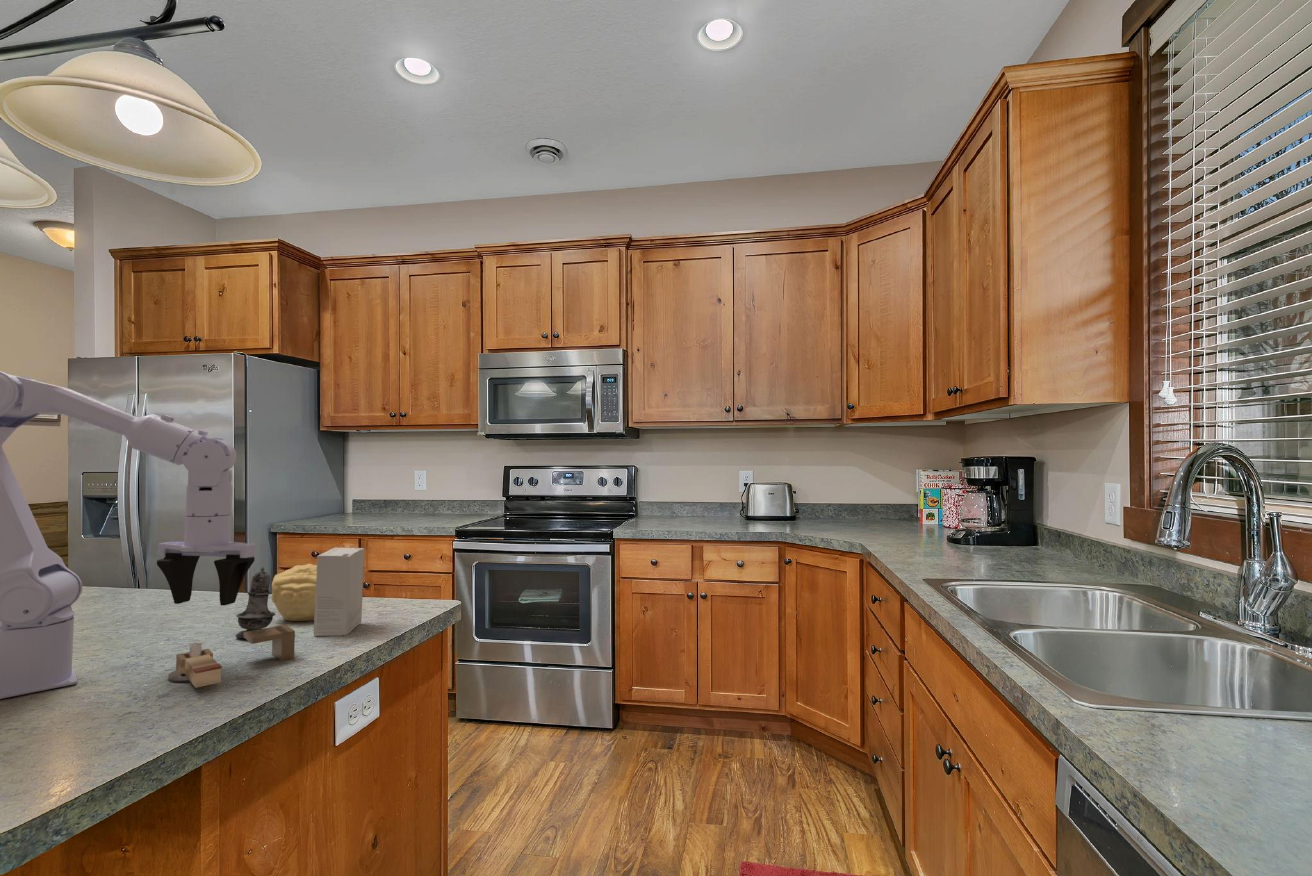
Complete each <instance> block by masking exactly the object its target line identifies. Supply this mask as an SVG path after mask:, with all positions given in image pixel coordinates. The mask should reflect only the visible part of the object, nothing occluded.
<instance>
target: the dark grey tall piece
mask: <svg viewBox="0 0 1312 876" xmlns="http://www.w3.org/2000/svg"><path fill="white" fill-rule="evenodd" d="M250 583H251V584H250V590H249V591H248V592H247V595H248V601H247V605H246V608H245V610H244V611H242V612H241V613H237V614H236V618H237V623H238V626H239V627H240V628H241V629H244V630H241V631H239V632H238V633H236V634H235V637H236V638H240V639H245V638H244V632H247V631H253V630H258V629H264V628H268V626H269V625H270V624H271V623H272V621H273V619H274V616H276V612H273V611H271V610H270V609H269V607H268V600H269V595H271V594H272V591H269V590H270V583H271V575H270V574H269V573H268V572H266V571H265V567H264V566H262V567H261V568H260V571H259V572H255V573H254V574H253V575H252V577H251V582H250Z"/></svg>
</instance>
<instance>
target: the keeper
mask: <svg viewBox="0 0 1312 876" xmlns="http://www.w3.org/2000/svg"><path fill="white" fill-rule="evenodd" d="M295 637H296V631H295V630H294V629H293V628H291V627H290V626H288V625H287V624H283V625H277V626H271V627H265V628H262V629H258V630H253V631H247V632H244V638H243V639H245V640H246V641H247V642H249V643H250V644H251V645H255V644H260V643H264V642H265V643H266V642H268V641H270V642H271V655H273V657H275V658H276V659H278V660H279V661H280V660H281V661H280V662H283V661H282V660H285V661H289V660H292V659H291V658H294V659H295V644H296V643H295V639H296V638H295ZM288 659H289V660H288Z"/></svg>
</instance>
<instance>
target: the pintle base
mask: <svg viewBox="0 0 1312 876" xmlns="http://www.w3.org/2000/svg"><path fill="white" fill-rule="evenodd" d="M201 650H203V649H202V642H193V643H191V644H189V658H191V657H196V656H201ZM167 677H168V678H167V680H168V682H170V683H175V684H177V683H180V684H181V683H191V681H190V680H189V679H188V677H187V676H186V675H185V673H184V674H179V672H178V671H177V670H176V669H175V670H173V671H171V672H170V673H169V674H168V676H167Z"/></svg>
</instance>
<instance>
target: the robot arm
mask: <svg viewBox="0 0 1312 876" xmlns="http://www.w3.org/2000/svg"><path fill="white" fill-rule="evenodd" d="M40 415H48V416H55V415H56V416H57V415H59V416H60V415H64V416H67V417H70V418H72V419H76V420H78V421H82V422H84V423H87V424H90V425H94V426H96V427H99V428H102V429H104V430H107V431H110V432H114V433H115V434H116V433H117V434H120V435H122V436H124V437H125V438H126V439H125V440H127V442H128V445H129V447H130V448H132V449H133V450H137V451H139V452H142V453H143V454H147V455H150V456H153V457H155V458H157V459H161V460H164V461H165V462H169V463H172V464H174V465H176V466H181V465H183V466H184V467H185V469H186V470H187V471H188V472H187V473H188V474H187V484H186V485H187V486H186V490H185V491H186V492H185V493H186V494H185V513H184V514H185V515H184V516H185V517H184V539H183V540H184V541H166V542H165V541H164V542H159V543H158V550H157V551H158V553H157V555H158V556H160V557H162V556H163V558H161V559H157V560H156V566H157V567H158V568H159V569H160V571H161V572H162V573H163V575H164V577H165V579H166V581H167V584H168V586H169V590H170V591H171V596H172V599H173V603H174V605H180V604H183V603H187V602H189V601H190V602H191V597H192V592H193V580H194V576H195V570H196V568H197V565H198V562H199V560H200V557H220V559H215V560H214V561H213V563H214V566H215V569H216V573H217V576H218V583H219V604H220V606H228V605H232V604H234V603H236V600H237V597H238V593H239V591H240V588H241V585H242V583H243V580H244V579H245V576H246V574H247V573H248V571H249V569H250V568H251V566H252V565H253V564H254V562H255V557H256V547H257V546H256V545H257V544H256V543H248V542H236V541H231V531H232V529H231V528H232V527H231V526H232V507H233V506H232V505H233V504H232V503H233V485H232V480H233V470H231V469H232V468H233V467H234V466H235V464H236V462H237V458H238V457H237V456H238V455H237V451H236V449H235V447H234V446H233V445H232V444H230V443H229V442H227V441H226V440H225V439H223V438H219V437H211V438H207V436H208V434H209V432H208V431H206V430H203V429H199V430H195V429H193V428H190V427H188V426H186V425H182V424H179V423H178V422H175V421H174V420H175V417H173V416H170V415H168V414H164V413H162V414H161V416H160V415H157V414H154V413H152V414H147V415H143V416H138V417H137V416H135V415H133V414H130V413H128V412H125V411H123V410H121V409H118V408H116V407H114V406H111V405H109V404H107V403H104V402H101V401H100V400H97V399H95V398H92V397H90V396H87V395H85V394H82V393H80V392H78V391H76V390H73V389H71V388H68V387H63V386H60V385H59V386H58V385H55V384H50V383H48V382H42V381H38V380H36V379H33V378H31V377H27V376H20V375H14V374H9V373H6V372H3V371H0V700H2V699H7V698H11V697H16V696H22V695H28V694H33V693H36V692H37V693H38V692H42V691H47V690H51V689H57V688H62V687H67V686H73V685H76V684H77V683H78V679H77V674H76V672H75V668H74V667H73V652H74V632H75V631H74V630H75V629H74V627H75V612H74V610H73V609H72V605H73V604H75V603H76V601H78V599H79V598H80V597H81V594H82V592H83V582H82V580H81V578H80V576H79V575H78V574H76V573H75V572H73V571H72V570H71V569H70V568H68V567H67V566H66V565H65V562H64V560H63V558H62V557H61V556H60V555H58V554H57V553H56V552H55V551H53V550H51V548H49V547H48V545H47V543H46V540H45V538H44V536H43V534H42V532H41V530H40V528H39V526H38V524H37V521H36V519H35V516H34V514H33V512H32V510H31V507H30V505H29V503H28V502H27V499H26V496H25V495H24V492H23V491H22V488H21V486H20V484H19V482H18V480H17V477H16V475H15V473H14V471H13V468H12V466H11V464H10V462H9V460H8V458H7V456H6V453H5V451H4V449H3V444H4V443H5V442H6V441H7V440H8V439H9V437H10V436H11V435H12V434H13V433H14V432H15V431H16V430H17V429H18V428H20V427H21V426H23V425H25V424H27V423H29V422H30V421H32V420H34V419H35V418H37V417H38V416H40ZM221 557H222V558H221ZM223 557H225V558H223Z"/></svg>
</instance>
